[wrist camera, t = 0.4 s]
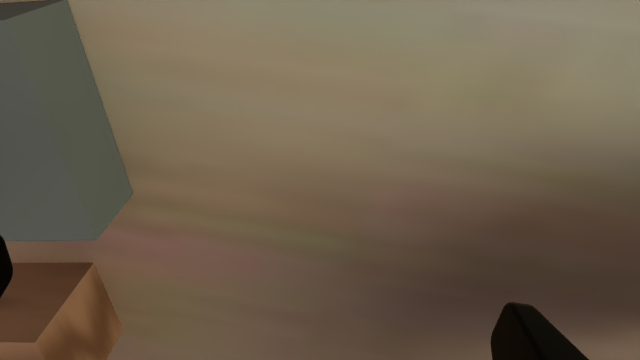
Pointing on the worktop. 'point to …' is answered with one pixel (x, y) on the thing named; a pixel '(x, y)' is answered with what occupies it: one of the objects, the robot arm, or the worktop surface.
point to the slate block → (53, 131)
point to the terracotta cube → (56, 314)
